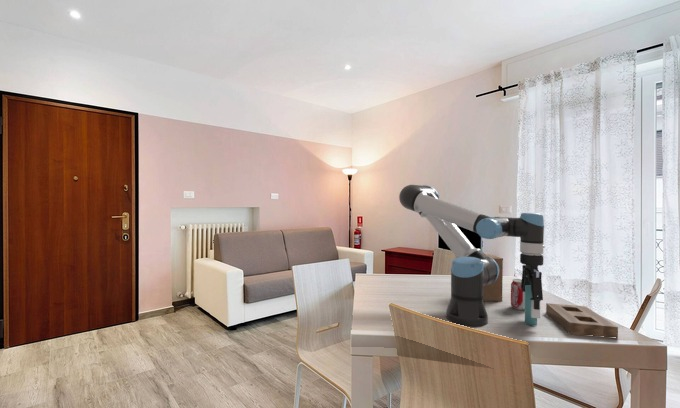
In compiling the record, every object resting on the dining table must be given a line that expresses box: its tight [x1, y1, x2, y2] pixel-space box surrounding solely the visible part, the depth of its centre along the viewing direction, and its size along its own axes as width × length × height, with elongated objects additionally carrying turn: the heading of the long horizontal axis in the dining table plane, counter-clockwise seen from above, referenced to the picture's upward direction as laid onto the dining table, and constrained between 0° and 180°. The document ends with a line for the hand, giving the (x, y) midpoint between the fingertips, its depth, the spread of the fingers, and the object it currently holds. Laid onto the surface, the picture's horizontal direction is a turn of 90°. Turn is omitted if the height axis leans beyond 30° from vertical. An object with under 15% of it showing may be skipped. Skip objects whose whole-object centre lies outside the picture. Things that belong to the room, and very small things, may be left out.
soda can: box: [510, 278, 525, 311], centre depth 136 cm, size 7×7×12 cm
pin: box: [524, 285, 538, 327], centre depth 118 cm, size 4×4×14 cm
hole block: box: [545, 302, 619, 339], centre depth 118 cm, size 14×22×4 cm, turn 165°
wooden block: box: [483, 254, 504, 302], centre depth 150 cm, size 10×10×20 cm
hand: (531, 312), depth 118 cm, fingers open, 9 cm apart
